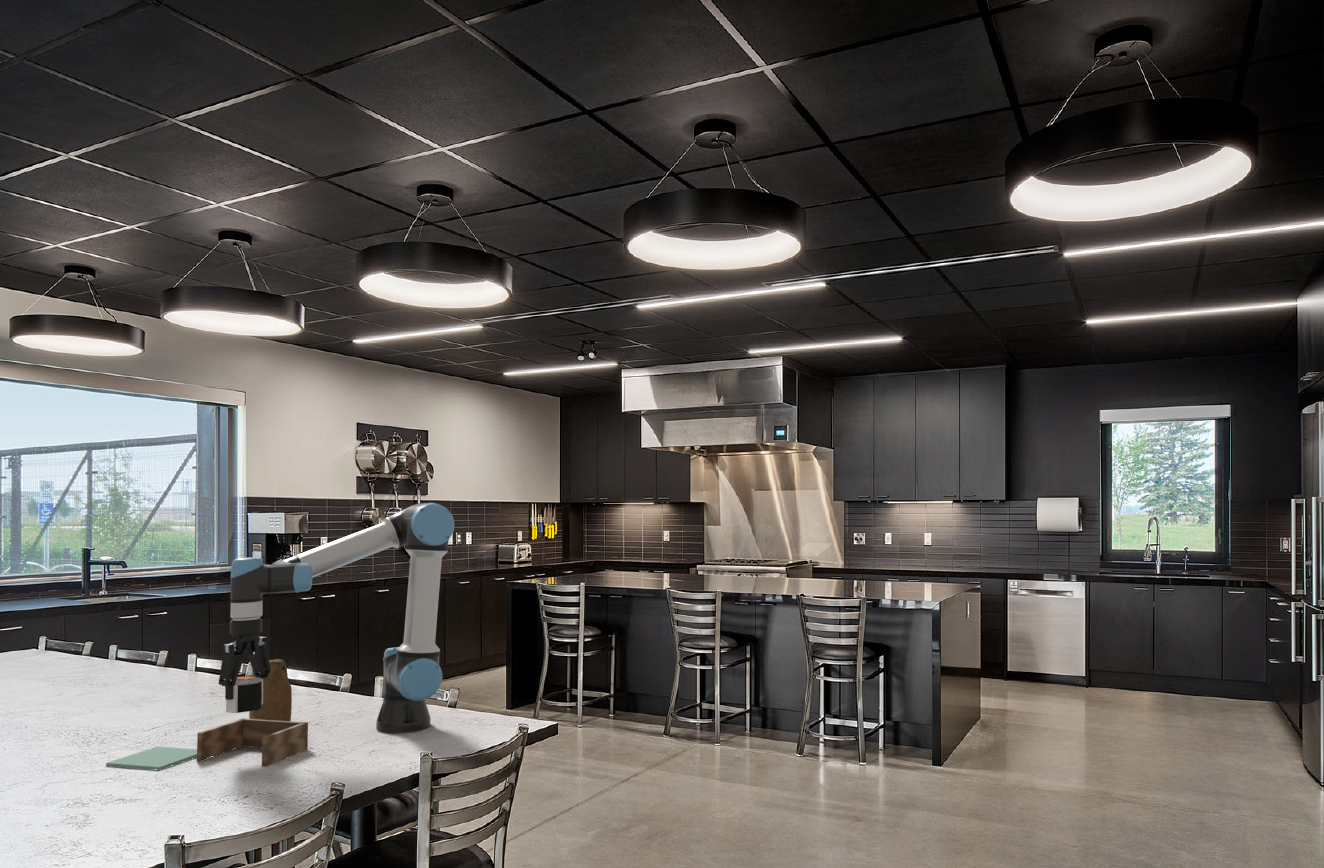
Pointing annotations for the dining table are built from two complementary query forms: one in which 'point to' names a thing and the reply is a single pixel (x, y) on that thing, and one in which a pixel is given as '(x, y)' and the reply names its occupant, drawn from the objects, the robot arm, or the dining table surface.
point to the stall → (255, 738)
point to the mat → (155, 758)
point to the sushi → (249, 693)
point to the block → (275, 694)
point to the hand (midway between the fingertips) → (244, 708)
